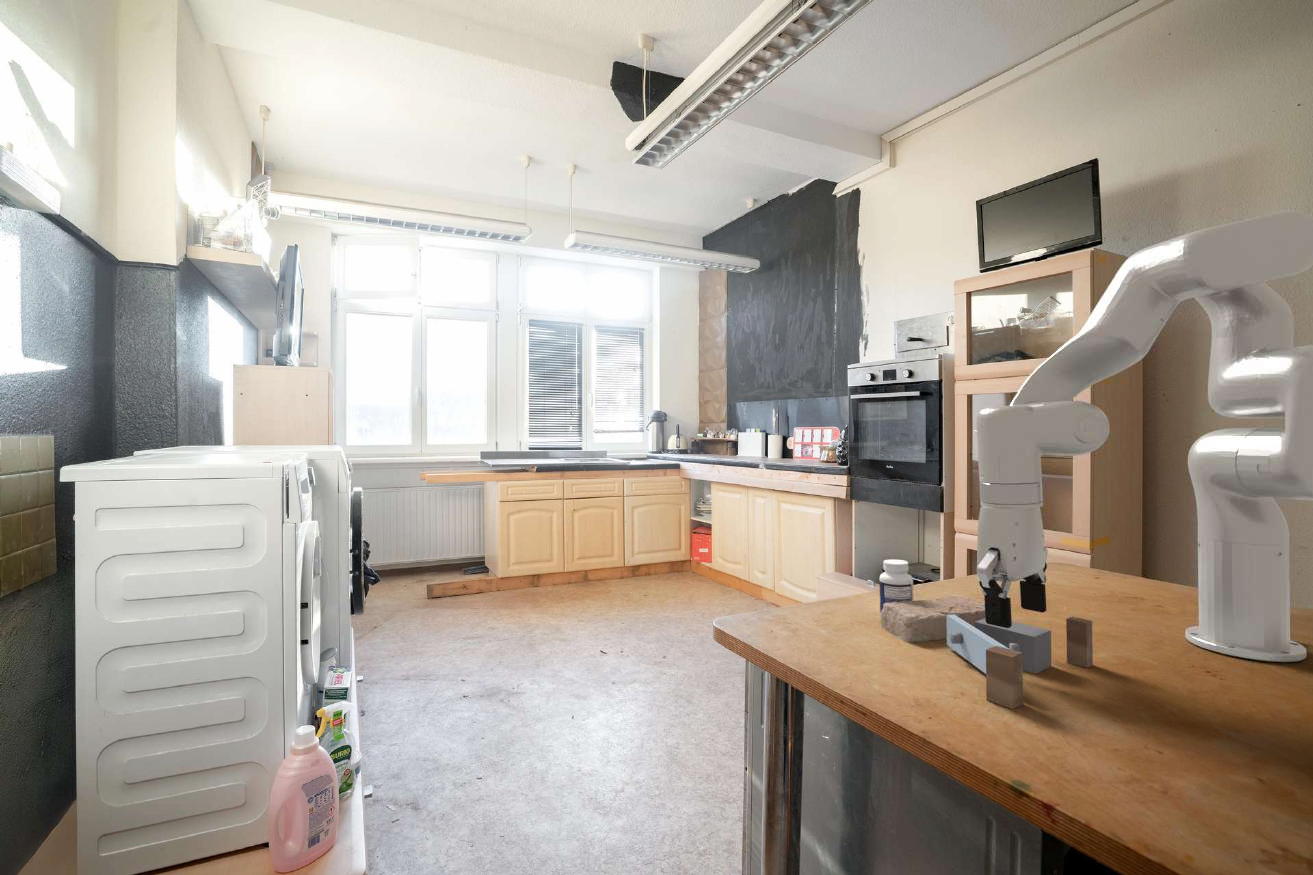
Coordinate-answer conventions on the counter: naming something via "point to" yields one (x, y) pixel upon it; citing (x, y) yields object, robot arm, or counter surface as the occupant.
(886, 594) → the pill bottle
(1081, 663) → the block
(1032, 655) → the block
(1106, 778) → the counter surface
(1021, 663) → the brown wooden block
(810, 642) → the counter surface
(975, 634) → the door
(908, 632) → the brick
